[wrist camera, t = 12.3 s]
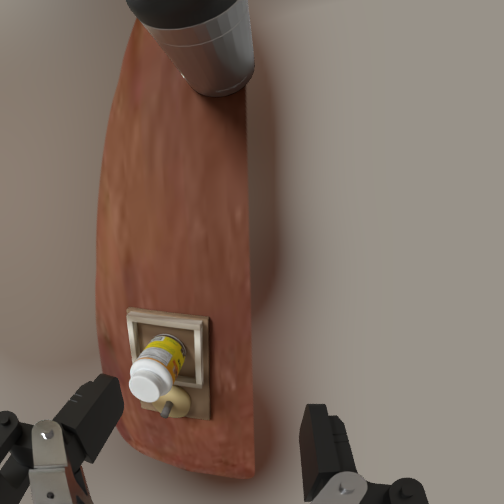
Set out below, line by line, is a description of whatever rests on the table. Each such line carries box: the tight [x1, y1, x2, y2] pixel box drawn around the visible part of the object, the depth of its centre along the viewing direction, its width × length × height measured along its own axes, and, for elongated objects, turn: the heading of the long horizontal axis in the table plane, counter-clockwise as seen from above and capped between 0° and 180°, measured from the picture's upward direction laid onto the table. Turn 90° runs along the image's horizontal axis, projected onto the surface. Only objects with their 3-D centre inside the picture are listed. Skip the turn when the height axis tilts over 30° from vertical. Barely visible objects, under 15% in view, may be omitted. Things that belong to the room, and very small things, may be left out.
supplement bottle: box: [129, 334, 186, 402], centre depth 34 cm, size 6×6×10 cm
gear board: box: [127, 307, 210, 420], centre depth 38 cm, size 19×12×6 cm, turn 177°
